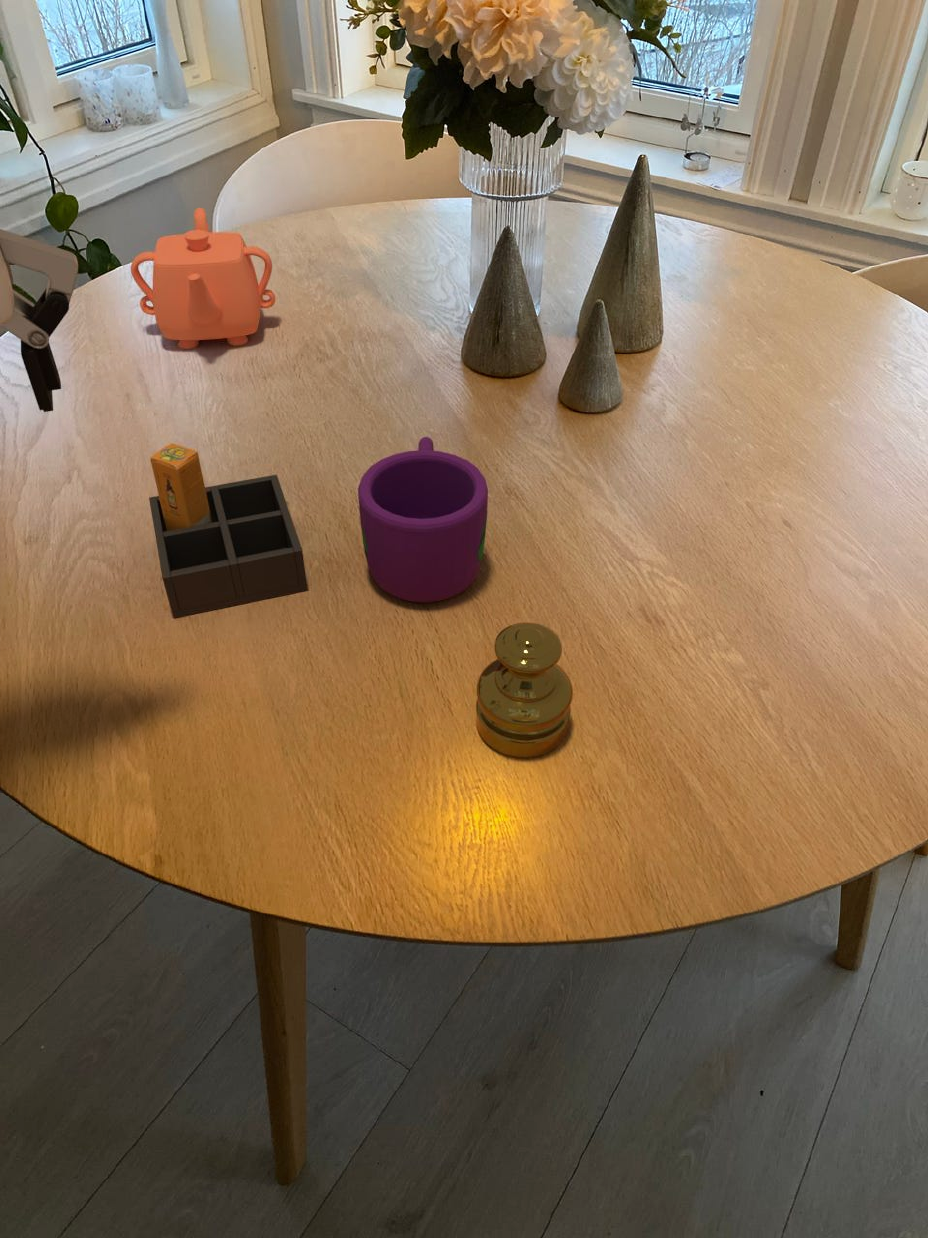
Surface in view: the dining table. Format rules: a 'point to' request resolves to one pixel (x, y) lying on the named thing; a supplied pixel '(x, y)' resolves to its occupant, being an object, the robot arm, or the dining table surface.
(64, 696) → the dining table surface
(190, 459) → the supplement box
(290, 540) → the rack
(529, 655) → the brass knobbed weight
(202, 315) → the teapot
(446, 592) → the mug
